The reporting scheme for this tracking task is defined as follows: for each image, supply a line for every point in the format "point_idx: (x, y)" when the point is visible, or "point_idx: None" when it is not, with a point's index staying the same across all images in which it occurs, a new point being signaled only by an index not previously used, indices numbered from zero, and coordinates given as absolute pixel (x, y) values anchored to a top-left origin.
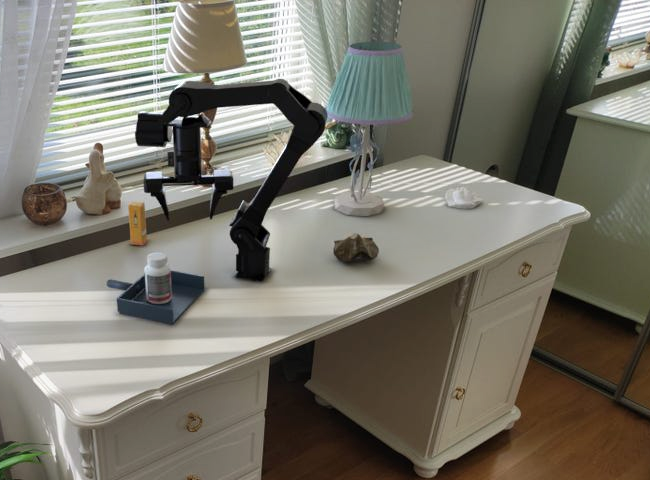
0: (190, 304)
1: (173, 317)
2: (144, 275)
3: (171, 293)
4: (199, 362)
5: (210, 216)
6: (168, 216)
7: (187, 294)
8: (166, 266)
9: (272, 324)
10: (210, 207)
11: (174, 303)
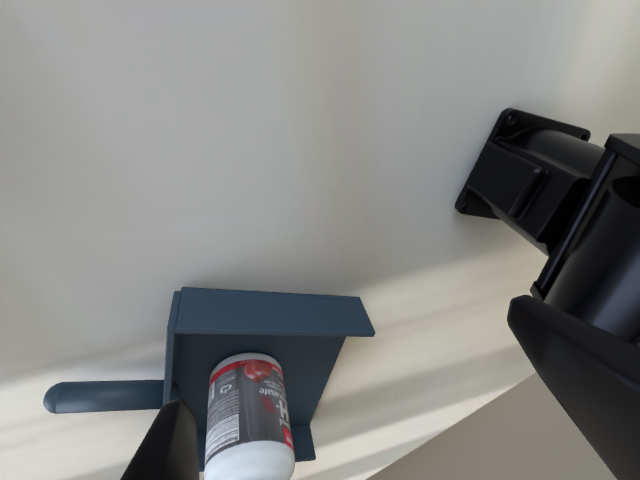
0: (332, 364)
1: (306, 414)
2: (171, 379)
3: (283, 381)
4: (371, 466)
5: (527, 349)
6: (194, 474)
7: (317, 337)
8: (284, 478)
9: (498, 367)
10: (592, 404)
11: (293, 377)
